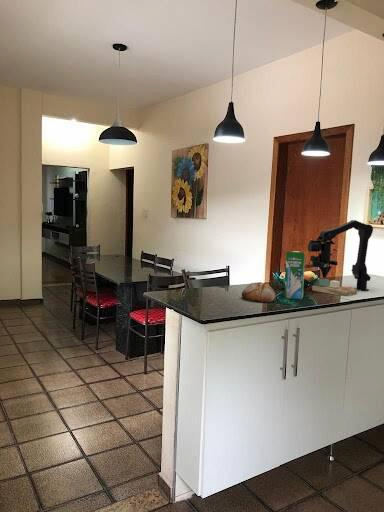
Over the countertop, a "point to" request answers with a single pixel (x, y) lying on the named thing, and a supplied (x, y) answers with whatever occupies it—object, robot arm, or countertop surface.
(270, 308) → the countertop surface
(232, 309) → the countertop surface
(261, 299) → the bread
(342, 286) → the key terracotta
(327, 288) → the wooden cutting board
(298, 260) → the milk carton
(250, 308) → the countertop surface
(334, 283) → the key ivory
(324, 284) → the key teal
